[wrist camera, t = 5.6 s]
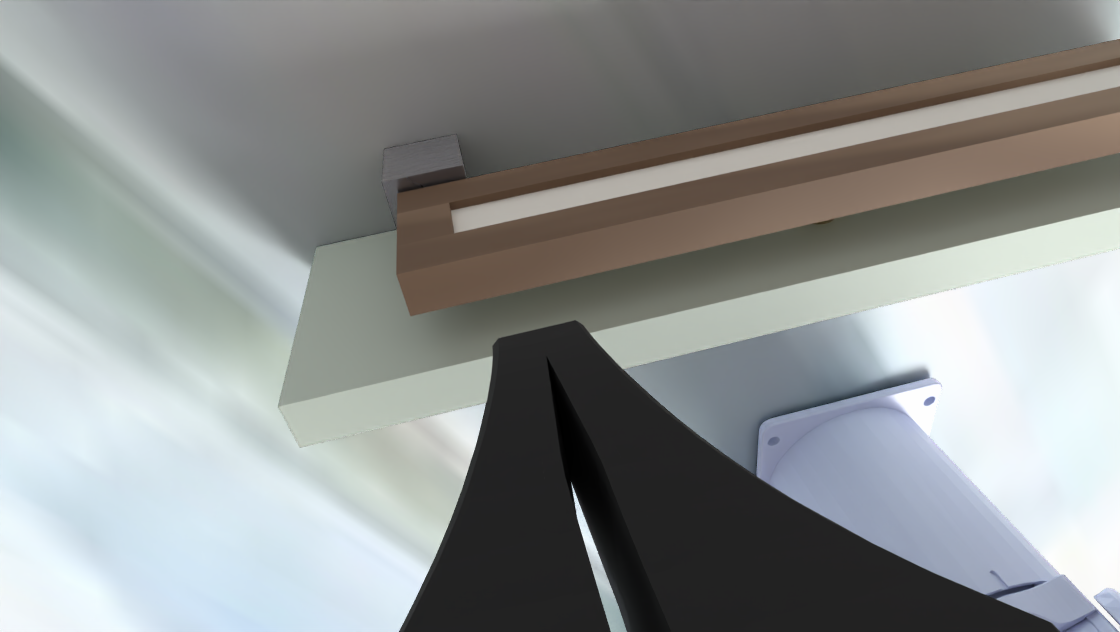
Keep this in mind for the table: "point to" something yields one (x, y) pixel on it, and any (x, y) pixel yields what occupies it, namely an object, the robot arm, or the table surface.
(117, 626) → the table surface
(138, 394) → the table surface
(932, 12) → the table surface
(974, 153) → the grooved wooden rail
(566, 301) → the wall panel
